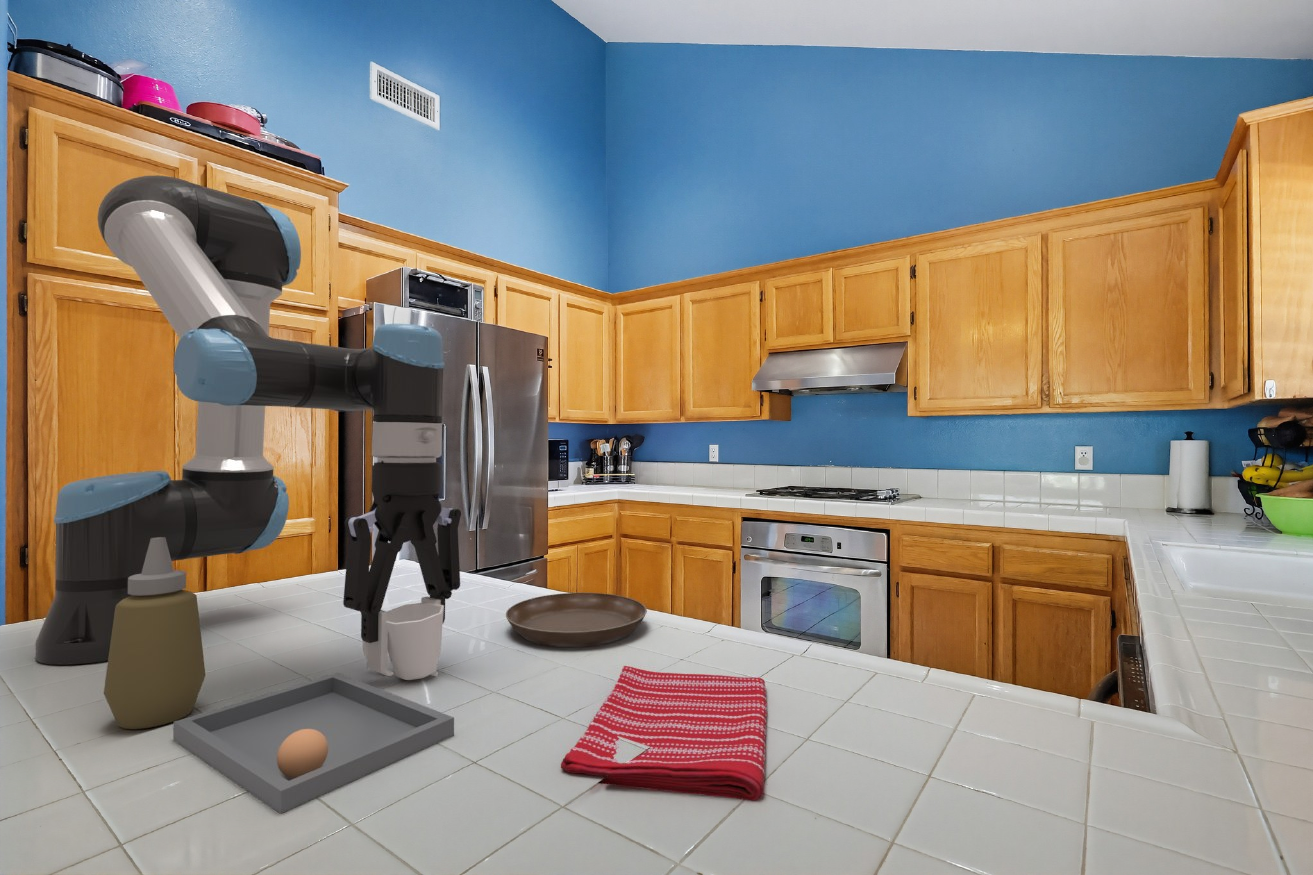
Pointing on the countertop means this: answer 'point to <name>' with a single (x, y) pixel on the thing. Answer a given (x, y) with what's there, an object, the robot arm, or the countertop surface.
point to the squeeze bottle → (155, 646)
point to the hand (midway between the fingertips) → (404, 660)
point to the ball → (302, 753)
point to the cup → (414, 640)
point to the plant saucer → (576, 618)
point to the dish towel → (679, 734)
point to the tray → (337, 706)
